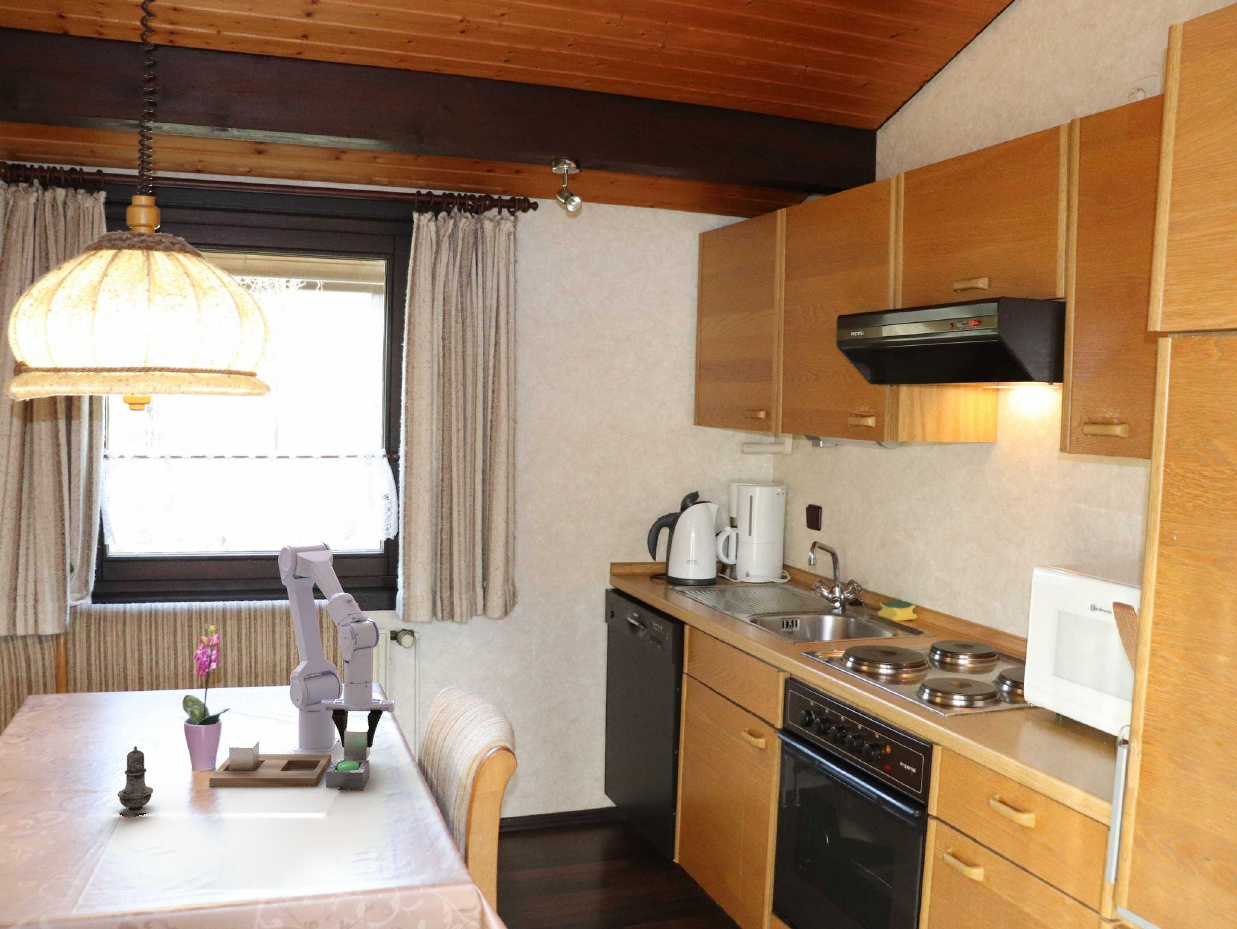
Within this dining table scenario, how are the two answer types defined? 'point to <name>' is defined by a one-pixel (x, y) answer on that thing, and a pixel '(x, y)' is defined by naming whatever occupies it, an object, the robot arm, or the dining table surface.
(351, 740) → the block
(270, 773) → the wooden socket board
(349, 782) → the button box
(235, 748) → the block
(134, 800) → the salt shaker
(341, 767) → the button
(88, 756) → the dining table surface
